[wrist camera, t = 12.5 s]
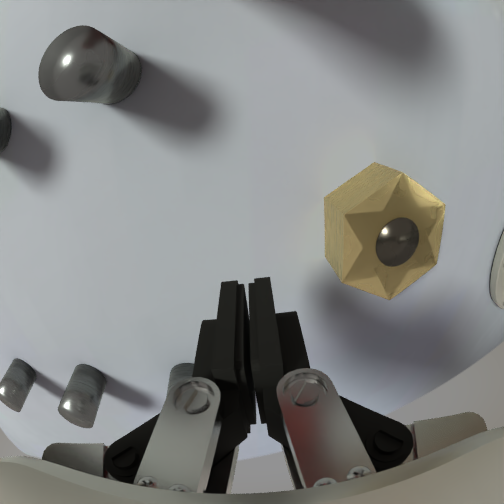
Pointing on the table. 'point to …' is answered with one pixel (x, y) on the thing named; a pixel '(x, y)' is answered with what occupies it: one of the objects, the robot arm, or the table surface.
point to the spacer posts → (54, 87)
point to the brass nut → (382, 231)
